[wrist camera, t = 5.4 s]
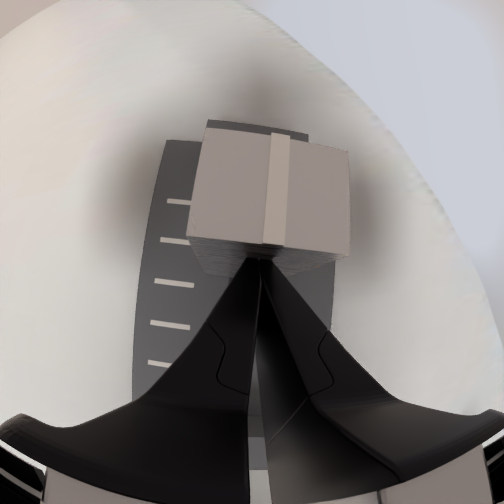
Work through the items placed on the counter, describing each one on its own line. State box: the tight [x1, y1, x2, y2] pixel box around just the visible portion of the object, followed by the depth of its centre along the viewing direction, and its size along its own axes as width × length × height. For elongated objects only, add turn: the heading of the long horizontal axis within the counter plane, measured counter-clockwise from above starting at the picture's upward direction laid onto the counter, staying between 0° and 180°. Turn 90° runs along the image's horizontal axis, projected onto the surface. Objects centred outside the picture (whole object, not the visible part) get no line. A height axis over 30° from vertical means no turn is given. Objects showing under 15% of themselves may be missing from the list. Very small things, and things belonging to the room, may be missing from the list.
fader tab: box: [186, 127, 350, 277], centre depth 11 cm, size 3×4×10 cm
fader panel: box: [132, 120, 335, 470], centre depth 15 cm, size 20×12×3 cm, turn 175°
